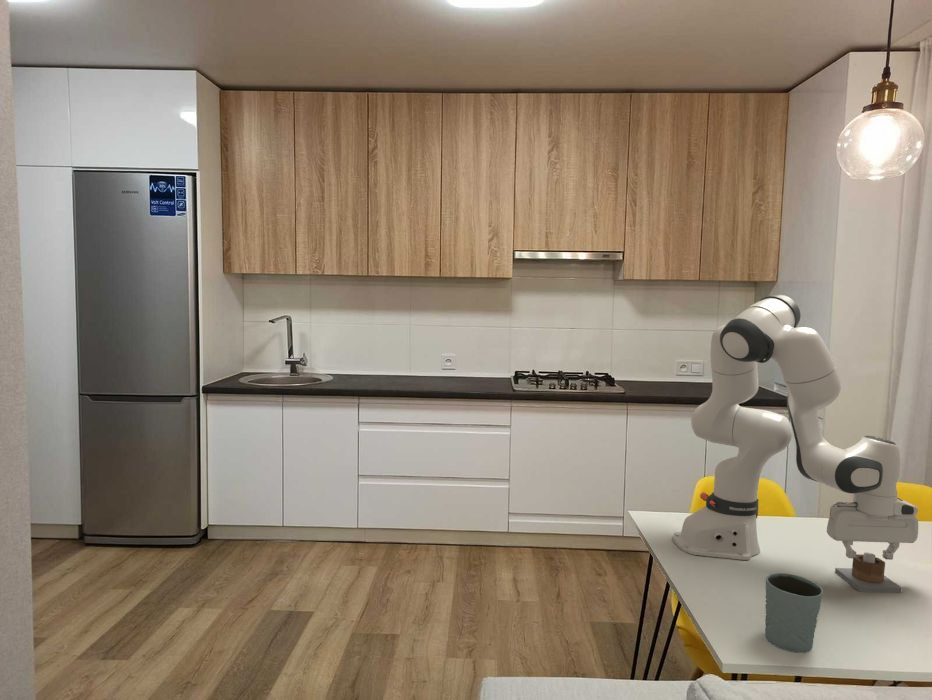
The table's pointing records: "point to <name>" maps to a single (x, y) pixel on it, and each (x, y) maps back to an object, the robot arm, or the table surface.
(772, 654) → the table surface
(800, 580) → the grey blue cup
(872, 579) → the ring
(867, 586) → the shaft stand
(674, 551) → the table surface
